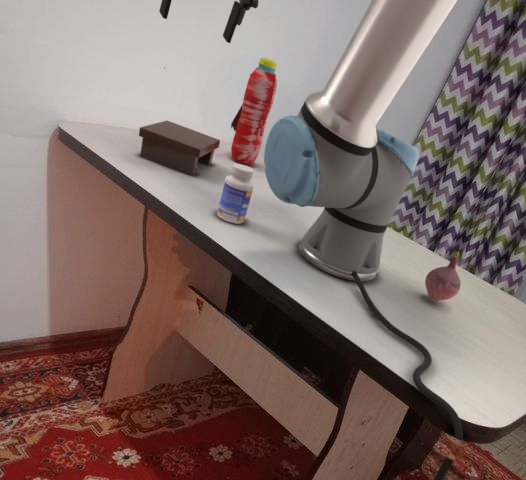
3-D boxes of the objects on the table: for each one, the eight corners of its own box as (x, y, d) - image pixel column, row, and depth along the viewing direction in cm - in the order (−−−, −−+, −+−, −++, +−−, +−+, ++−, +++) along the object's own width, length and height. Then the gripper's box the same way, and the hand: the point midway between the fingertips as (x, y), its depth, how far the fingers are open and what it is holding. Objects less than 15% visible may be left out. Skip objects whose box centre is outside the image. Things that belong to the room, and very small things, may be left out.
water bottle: (215, 150, 128) (238, 47, 115) (237, 153, 134) (262, 55, 120) (239, 166, 122) (268, 60, 108) (262, 169, 127) (292, 67, 113)
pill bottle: (243, 227, 87) (257, 175, 81) (215, 218, 86) (228, 166, 80) (244, 217, 91) (258, 168, 86) (218, 209, 90) (230, 159, 85)
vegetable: (423, 289, 89) (450, 242, 83) (452, 305, 86) (481, 258, 81) (411, 296, 84) (439, 246, 79) (442, 313, 82) (472, 263, 76)
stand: (194, 177, 103) (200, 149, 99) (135, 155, 103) (139, 127, 99) (214, 164, 116) (220, 140, 113) (162, 145, 116) (166, 120, 113)
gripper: (289, -82, 84) (243, 40, 99) (160, -160, 71) (128, -6, 85) (306, -67, 81) (256, 57, 95) (172, -146, 67) (137, 13, 82)
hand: (195, 28), depth 90 cm, fingers open, 13 cm apart
